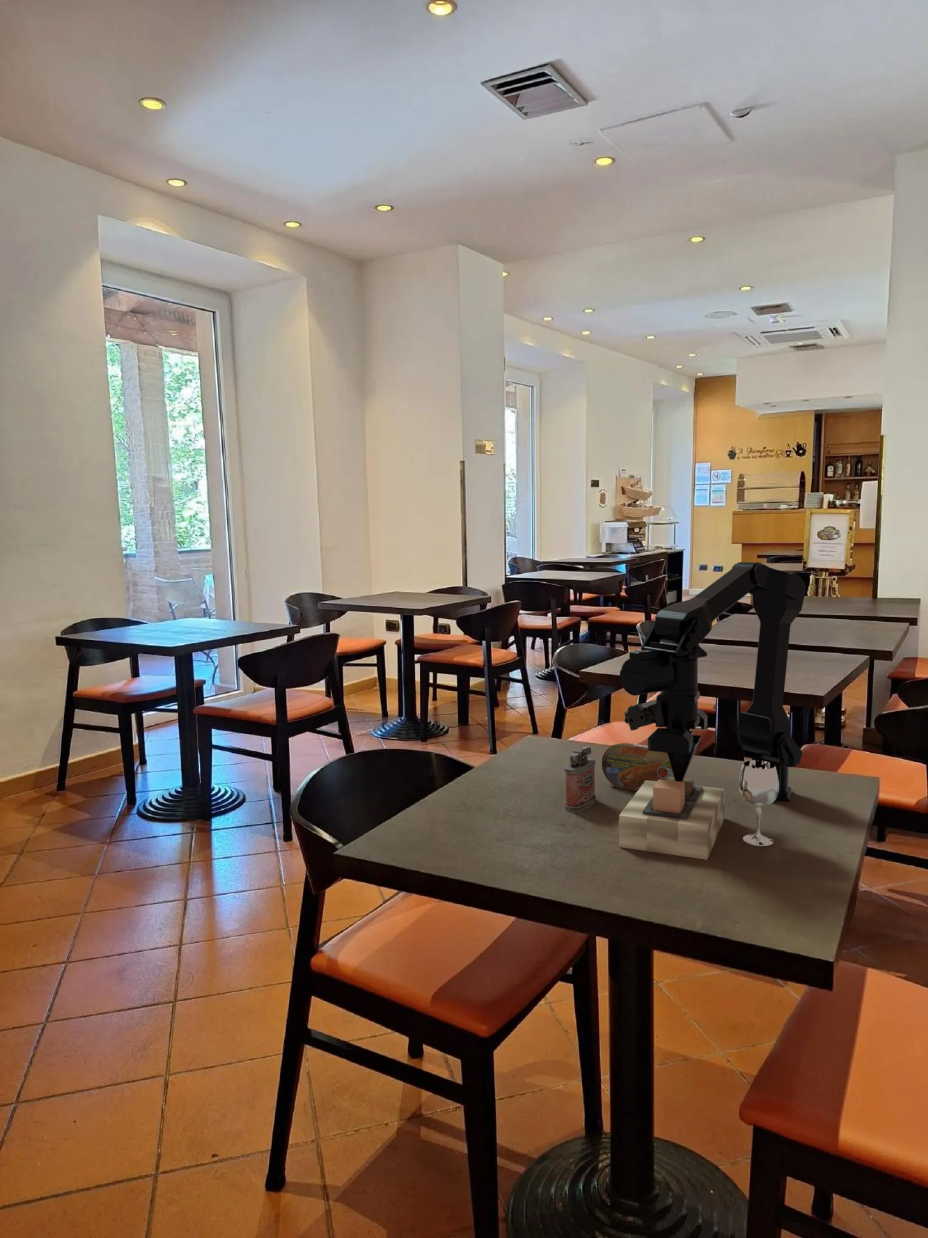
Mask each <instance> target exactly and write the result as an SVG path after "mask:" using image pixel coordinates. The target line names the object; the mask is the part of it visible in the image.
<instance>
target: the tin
mask: <svg viewBox="0 0 928 1238" xmlns="http://www.w3.org/2000/svg"><path fill="white" fill-rule="evenodd" d="M601 770H602V772H603V775H604V777H605V778H606V780H607V781H608V782H609V783H610V784H611V785H612V786H614V787H616V788H617V789H623V790H627V791H628V790H629V791H635V792H637V791H638V790H639V789H640V787H641V786H642V785H643V783H644V782H645V781H646V780H647V781H656V782H657V781H658V780H667V778H668V777H674V775H673V771H672V768H671V764H670V760H669V757H668V754H667V753H666V752H655V751H650V750H648V745H646V744H645V745H644V744H637V743H629V742H620V743H617V744H613V745H611V746H609V747H608V748H607V749H606V750H605V751H604V752H603V755H602V758H601Z"/></svg>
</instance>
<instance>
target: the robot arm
mask: <svg viewBox="0 0 928 1238" xmlns="http://www.w3.org/2000/svg"><path fill="white" fill-rule="evenodd" d="M806 591H807V587H806V582H805V581H804V580H803V579H802V577H801V575H799V574H798V573H795V572H786V571H783V570H779V569H776V568H772V567H770V566H768V565H766V564H763V563H762V562H759V561H758V562H754V561H752V562H751V561H740V562H737V563H734V564H733V565H732V567H731V569H730V570H729V571H727V572H725V574H723V575H722V576H720V577H719V578H717V579H716V580H715V581H713V582H712V583H711V584H709V585H708V586H707V587H706V588H703V590H702V591H700V592H699V593H698V594H696V595H695V596H693V597H692V598H690V599H687V600H683V601H679V602H675V603H672V604H669V605H668V606H665V607H664V608H662V609H660V610H659V611H658V612H657V614H656V615H655V617H654V620H653V624H652V625H651V627H650V629H649V631H648V633H647V634H646V637H645V638H644V641H643V643H642V644H641V647H640V650H637V649H635V650H630V651H629V658H628V659H627V660H625V661H624V662H623V664H622V665H621V670H619V680H620V683H621V685H622V688H623V689H624V690H625V692H626V693H627V694H629V695H631V696H633V697H635V696H636V697H637V696H642V695H647V694H651V693H652V694H653V693H658V692H660V693H658V694H657V695H656V697H655V699H654V700H649V701H646V702H644V703H643V702H642V703H639V702H638V703H636V704H634V705H629V706H628V707H627V709H626V710H625V711H624V713H623V714H624V716H625V718H624V723H625V724H628V726H629V729H630V731H636V730H637V731H638V729H639V728H643V727H646V726H650V725H653V724H655V727H656V729H655V730H654V731H653V732H652V733H651V734H650V735H649V737H647V746H648V750H650V751H655V752H666V753H667V754H668V757H669V760H670V764H671V768H672V771H673V775H674V779H675V781H678V782H682V781H683V779H684V778H685V777H686V774H687V772H688V769H689V767H690V764H691V762H692V760H693V758H694V755H695V753H696V751H697V748H698V745H699V744H700V742H701V738H702V736H701V735H699V734H698V735H697V734H694V732H693V730H696V728H697V727H698V726H700V729H701V730H706V729H707V727H708V714H707V713H705V711H704V710H703V709H699V708H698V705H699V704H698V700H699V699H700V697H701V692H700V690H699V691H698V685H699V683H698V682H699V680H698V678H699V676H698V673H699V672H698V671H699V670H698V669H699V667H698V666H699V665H698V664H699V663H698V661H699V660H698V659H700V658H705V657H708V653H707V652H706V650H705V649H703V648H702V647H701V646H700V644H701V642H703V640H704V639H705V638H706V637H707V636H708V634H709V633H710V632H711V631H712V626H713V623H714V621H715V620H716V619H717V618H718V617H719V616H721V615H723V613H724V612H726V611H727V610H728V609H730V608H731V607H732V606H733V605H735V604H736V603H738V602H739V601H740V600H741V599H743V598H744V597H745V596H747V595H748V594H749V595H751V596H752V597H751V598H752V600H751V601H752V608H753V610H754V612H755V614H756V616H757V618H758V620H759V633H758V634H759V635H758V645H757V654H756V664H755V665H756V666H755V673H754V674H755V675H754V676H755V677H754V685H753V686H754V687H753V694H752V695H753V696H752V697H753V699H752V703H751V705H750V706H749V707H748V709H747V710H746V711H745V712H744V711H741V712H740V713H739V715H738V727H737V731H736V735H738V742H739V745H740V749H741V753H742V756H743V758H746V759H751V760H761V761H767V762H771V763H773V764H775V767H776V771H777V775H778V780H779V792H778V796H777V798H776V800H778V801H785V802H786V801H790V798H791V795H792V787H790V786H789V768H795V767H797V765H799V764H800V763H801V762H802V761H801V759H802V756H803V751H802V749H801V748H800V746H799V745H798V744H797V742H796V741H795V740H794V739H793V737H792V724H791V720H790V719H789V717H788V715H787V712H786V710H785V708H784V697H785V694H784V693H785V687H786V686H785V685H786V676H787V666H788V665H787V664H788V653H789V647H790V646H789V645H790V632H791V626H792V623H793V622H794V620H796V618H797V616H798V615H799V614H800V613H801V611H802V609H803V605H804V600H805V595H806V593H807V592H806ZM776 800H775V801H776Z"/></svg>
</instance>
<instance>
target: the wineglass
mask: <svg viewBox="0 0 928 1238" xmlns="http://www.w3.org/2000/svg"><path fill="white" fill-rule="evenodd" d="M738 790H739V795H740V797H741V798H742V799H743V800H744V801H745V802H746V803H748V804H750V805H752V806H755V809H754V814H755V819H756V831H755V833H754V834H747V835H744V836H743V837H742V841H743V842H744V843H746V844H748V845H751V846H755V847H756V846H757V847H769V846H772V845H773V844H774V839H772V838H771V837H769V836H767V835H764V834H762V833H761V826H760V825H761V823H760V822H761V817H762V814H763V812H762V808H761V807H764V806H768V805H771V804H772V803H774V802H775V801H776V798H777V796H778V792H779V780H778V775H777V771H776V767H775V764H773V763H771V762H767V761H761V760H754V759H751V760H745V761H743V762H742V765H741V768H740V772H739V777H738Z"/></svg>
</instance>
